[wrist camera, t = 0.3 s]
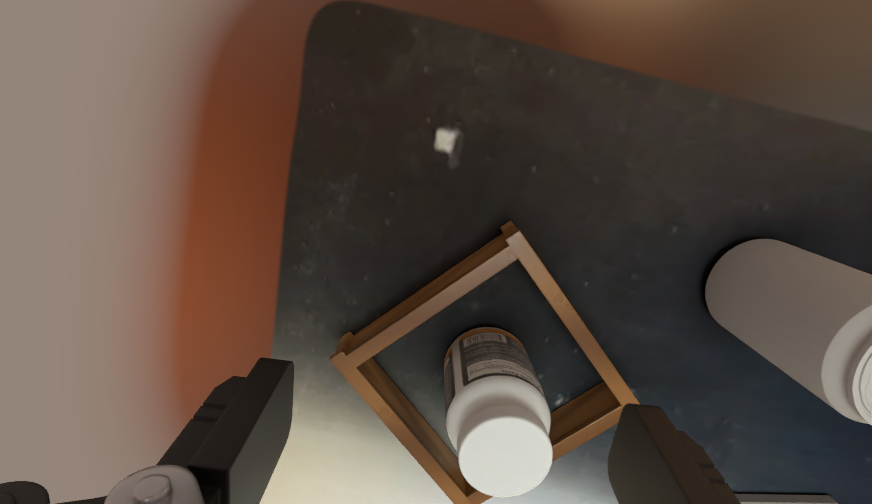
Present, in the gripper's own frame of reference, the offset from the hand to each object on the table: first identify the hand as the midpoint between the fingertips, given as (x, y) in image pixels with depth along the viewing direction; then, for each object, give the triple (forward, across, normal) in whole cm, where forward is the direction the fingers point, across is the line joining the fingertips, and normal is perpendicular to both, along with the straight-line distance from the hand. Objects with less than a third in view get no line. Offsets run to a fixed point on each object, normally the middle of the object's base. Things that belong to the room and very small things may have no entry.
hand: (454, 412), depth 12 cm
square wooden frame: (+20, -4, +10) cm, 22 cm away
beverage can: (+20, -20, +2) cm, 29 cm away
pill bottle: (+20, -4, +10) cm, 23 cm away
